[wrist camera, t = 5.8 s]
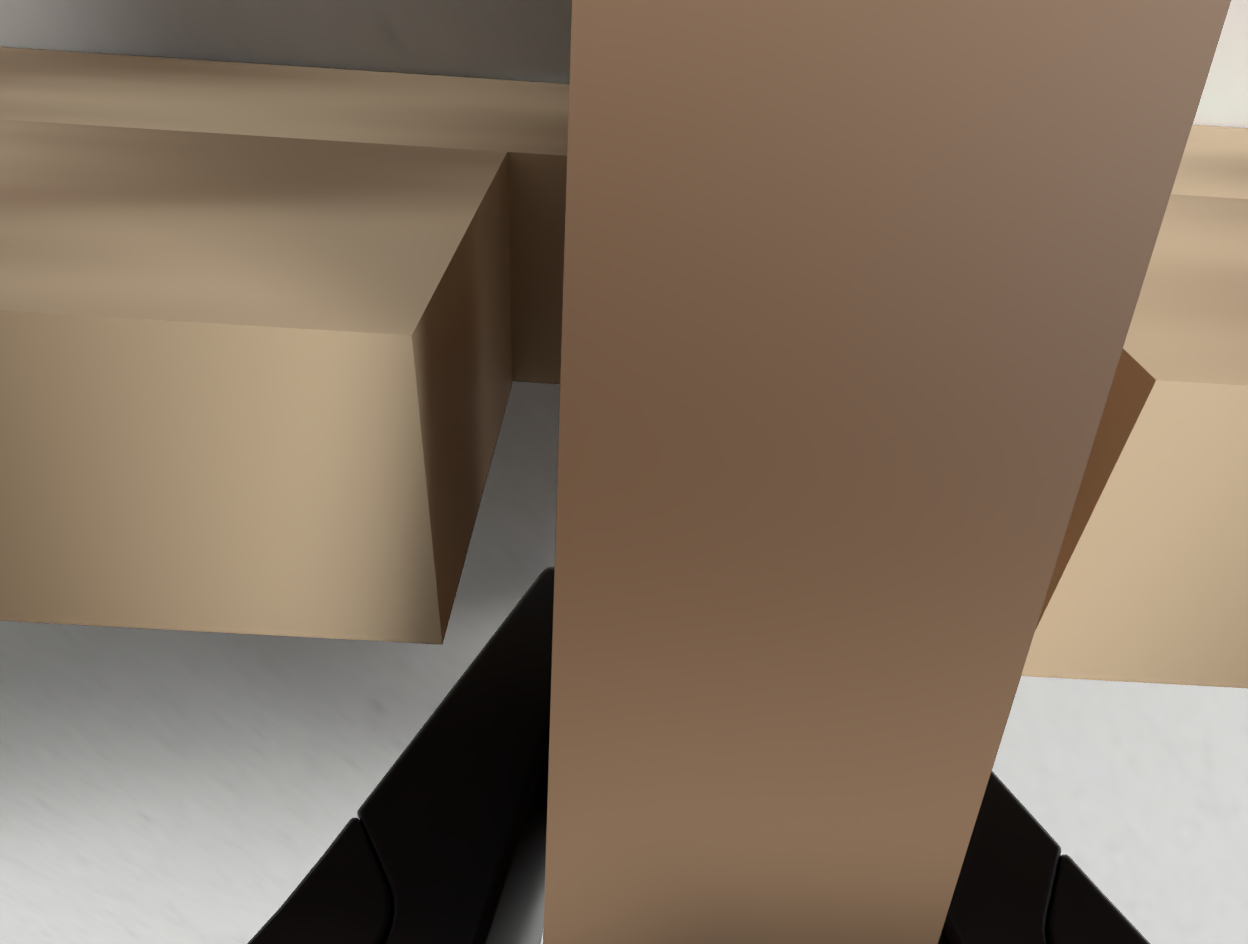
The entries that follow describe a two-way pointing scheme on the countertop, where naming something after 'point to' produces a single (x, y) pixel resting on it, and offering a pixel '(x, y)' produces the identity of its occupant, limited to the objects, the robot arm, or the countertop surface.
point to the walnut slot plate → (827, 432)
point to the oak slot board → (452, 362)
